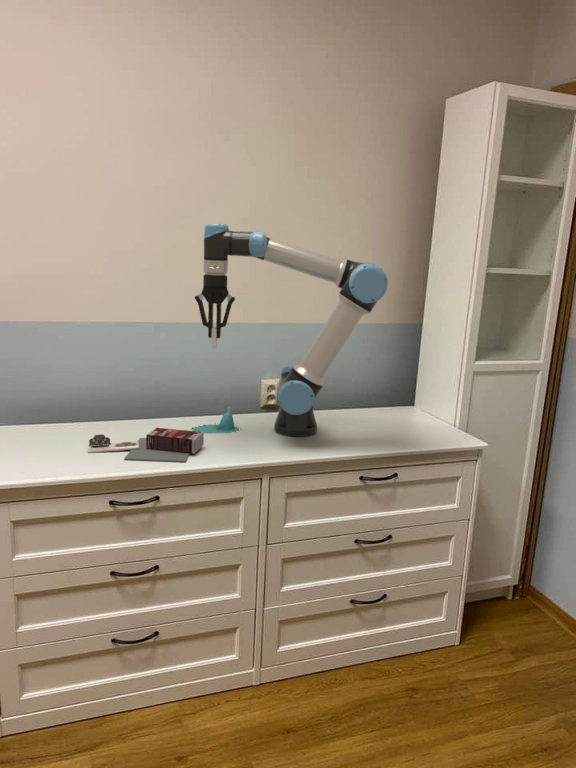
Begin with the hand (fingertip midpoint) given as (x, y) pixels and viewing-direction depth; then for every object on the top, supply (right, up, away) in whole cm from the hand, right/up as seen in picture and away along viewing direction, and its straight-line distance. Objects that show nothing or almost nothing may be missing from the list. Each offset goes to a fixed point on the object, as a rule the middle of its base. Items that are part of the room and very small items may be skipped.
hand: (214, 347), depth 196 cm
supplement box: (-3, -30, -8) cm, 31 cm away
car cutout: (-30, -32, -9) cm, 44 cm away
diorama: (-2, -28, +16) cm, 33 cm away
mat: (-15, -32, -8) cm, 37 cm away
